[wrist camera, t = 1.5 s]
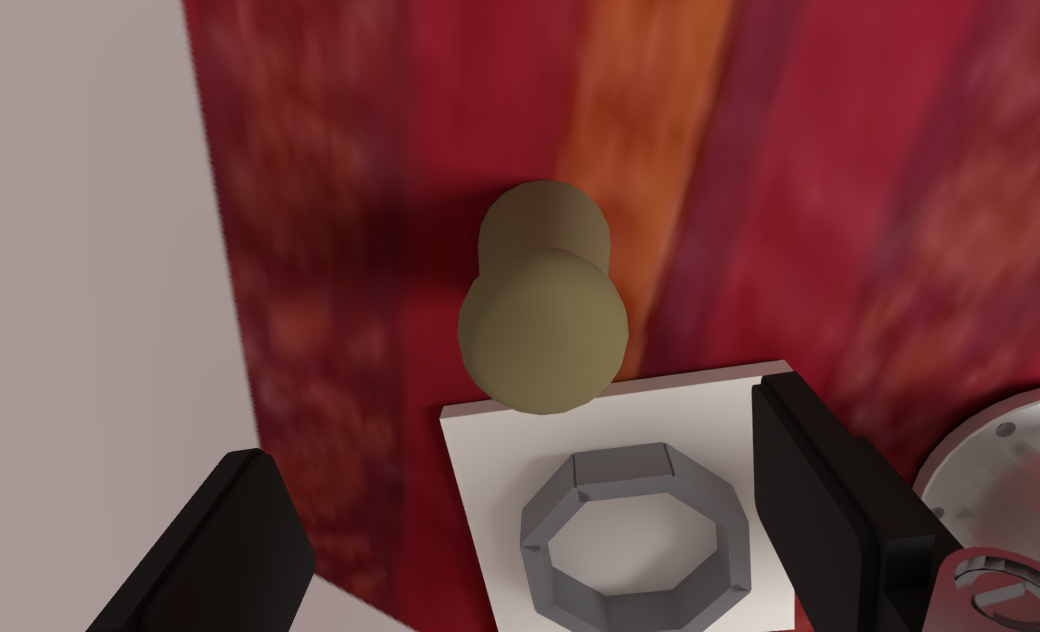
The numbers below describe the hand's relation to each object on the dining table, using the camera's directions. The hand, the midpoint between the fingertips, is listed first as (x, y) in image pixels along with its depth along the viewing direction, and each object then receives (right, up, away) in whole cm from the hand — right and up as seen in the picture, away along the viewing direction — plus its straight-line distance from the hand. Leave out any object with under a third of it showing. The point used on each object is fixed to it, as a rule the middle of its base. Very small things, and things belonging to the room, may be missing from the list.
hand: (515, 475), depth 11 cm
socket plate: (+6, -8, +21) cm, 23 cm away
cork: (+1, +6, +15) cm, 17 cm away
